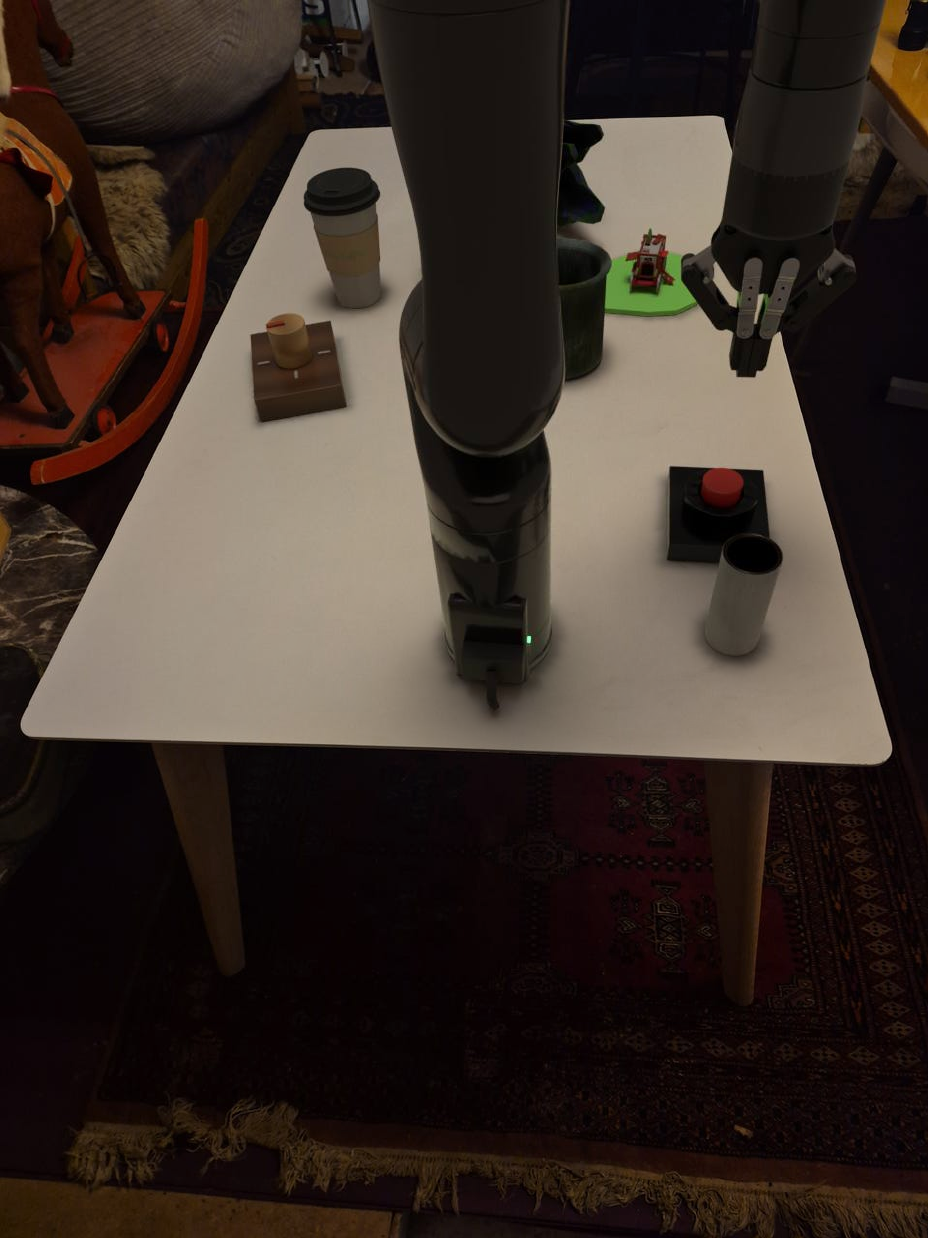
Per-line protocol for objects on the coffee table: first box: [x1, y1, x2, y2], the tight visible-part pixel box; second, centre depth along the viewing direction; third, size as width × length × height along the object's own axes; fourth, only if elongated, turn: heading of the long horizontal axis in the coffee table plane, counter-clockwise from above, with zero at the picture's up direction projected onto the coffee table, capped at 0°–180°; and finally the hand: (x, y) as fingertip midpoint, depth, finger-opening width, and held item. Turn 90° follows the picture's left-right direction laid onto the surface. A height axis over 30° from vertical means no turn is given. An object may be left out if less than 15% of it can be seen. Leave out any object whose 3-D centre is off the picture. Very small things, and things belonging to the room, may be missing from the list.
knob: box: [265, 312, 312, 369], centre depth 99 cm, size 4×4×5 cm
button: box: [701, 467, 743, 507], centre depth 79 cm, size 4×4×2 cm
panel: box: [249, 320, 348, 423], centre depth 102 cm, size 14×10×3 cm
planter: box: [704, 533, 784, 657], centre depth 70 cm, size 4×4×10 cm
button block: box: [666, 465, 771, 564], centre depth 81 cm, size 11×9×4 cm
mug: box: [557, 237, 612, 380], centre depth 98 cm, size 11×15×12 cm
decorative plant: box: [557, 118, 606, 228], centre depth 115 cm, size 21×26×30 cm
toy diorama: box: [605, 227, 698, 317], centre depth 109 cm, size 15×15×6 cm
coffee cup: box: [303, 167, 382, 309], centre depth 109 cm, size 9×9×15 cm
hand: (745, 371), depth 70 cm, fingers closed
